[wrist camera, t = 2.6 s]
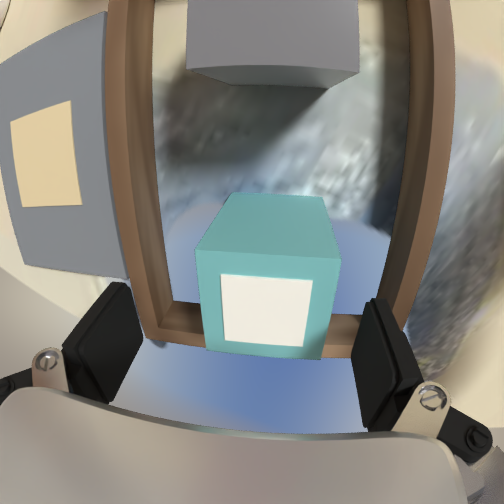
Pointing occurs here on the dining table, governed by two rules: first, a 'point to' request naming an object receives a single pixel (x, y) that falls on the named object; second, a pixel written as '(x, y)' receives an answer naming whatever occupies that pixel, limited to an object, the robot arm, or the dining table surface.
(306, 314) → the teal box
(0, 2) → the white plastic bottle
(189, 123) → the dining table surface
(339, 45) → the gray box
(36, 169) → the mat
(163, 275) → the frame
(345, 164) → the dining table surface
